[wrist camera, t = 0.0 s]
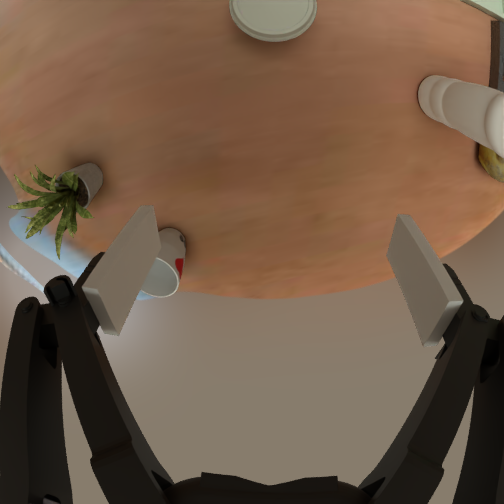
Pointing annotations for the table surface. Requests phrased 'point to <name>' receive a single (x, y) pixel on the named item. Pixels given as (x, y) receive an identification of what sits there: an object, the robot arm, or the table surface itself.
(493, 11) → the parts tray
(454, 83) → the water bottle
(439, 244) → the table surface
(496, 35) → the grey rectangular frame
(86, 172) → the house plant
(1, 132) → the table surface
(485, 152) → the decorative figurine
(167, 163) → the table surface
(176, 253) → the cup
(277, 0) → the coffee cup
